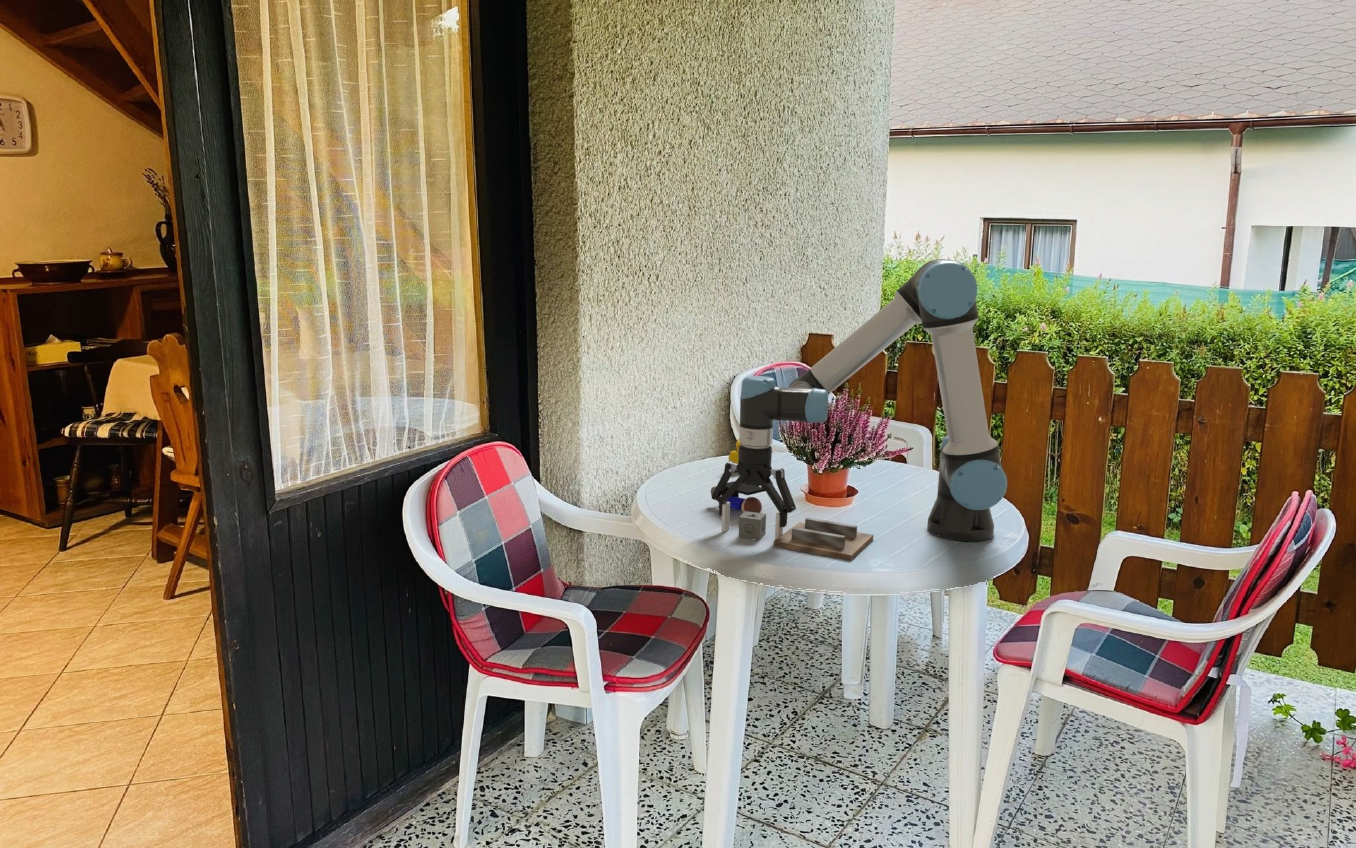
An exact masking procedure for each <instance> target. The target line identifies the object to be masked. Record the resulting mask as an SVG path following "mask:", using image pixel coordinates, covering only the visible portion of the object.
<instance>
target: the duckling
mask: <svg viewBox="0 0 1356 848" xmlns="http://www.w3.org/2000/svg"><path fill="white" fill-rule="evenodd" d="M740 445H741V443H740V442H739V438H738V439H737V440H736V443H735V448H736V450H732V451H730V453H729V454H728V462H730V461H733V462H734V463H735V464H738V462H739V460H738V453H739V446H740ZM735 471H737V470H736V469H735Z"/></svg>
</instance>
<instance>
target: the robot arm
mask: <svg viewBox="0 0 1356 848" xmlns="http://www.w3.org/2000/svg"><path fill="white" fill-rule="evenodd" d="M977 282H978V281H977V280H976V276H975V275H974V274H973V272H972V271H971V269H970V268H969V267H968V266H966V265H965V264H963V263H962V262H959V261H957V260H953V259H948V258H947V259H945V258H937V259H932V260H930V261H927V262H925V263H924V264H923V265H922V266H921V267H919V268H918V269H917V270H916V272H915V273H914V274H913V275H912V276H911V277H910V278H909V279H908V280H907V281H906V282H905V283H903V284H902V285H901V286H900V287H899V288H898V289H897V290H895V291H894V292H895V293H894V298H893V299H891V300H890V301H889V302H888V303H887V304H886V305H885V306H883V307H882V308H881V309H880V310H878V311H877V312H876V313H875V314H874V315H873V316H871V317H870V318H869V319H868V320H866V321H865V322H864V323H862V324H861V326H859V327H858V328H857V329H856V330H855V331H854V332H852V333H851V334H850V335H848V336H847V337H846V338H844V340H843V341H840V343H839V344H838V345H836V346H835V347H834V348H833V349H832V350H831V351H830V352H828V353H827V354H825V356H824V357H822V358H821V359H820V360H819V361H817V362H816V363H815V364H813V366H811V367H810V368H809V369H808V370H807V371H806V372H805V373H803V374H802V375H801V376H799V377H797V378H795V379H793V381H792V382H790V383H789V385H788V386H787V387H785V386H784V387H782V386H776V380H775V378H773V377H771V376H765V375H749V376H746V377H744V378H743V380H742V381H741V390H740V398H739V400H740V401H739V402H740V403H739V430H738V431H739V434H738V435H739V436H738V439H739V442H740V443H741V445H740V446H739V452H738V460H739V462H738V464H735V463H734V462H733V461H730V462H729V461H728V462H726V463H725V464H724V469H723V473H722V475H721V477H720V478H719V481H718V483H717V485H716V486H717V487H716V489H715V490H714V492H713V494H712V496H711V499H712V500H714V501H717V502H718V516H719V517H721V530H720V531H721V532H723V533H726V531H728V530H730V523H731V522H730V521H731V519H730V516H731V508H730V502H726V501H727V500H728V499H729V498H730V497H731V496H732V494H733V493H734V492H735V491H736V490H737V489H738V488H739V487H740V486H741V485H742V484H743V483H746V485H754V486H759V487H762V488H763V489H764V490H765V491H764V492H765V493H766V494H767V495H768V498H769V500H771V502H772V503H773V505H774V507H775V508H776V509H777V511H778V512H776V514H775V531H774V532H775V533H774V540H776V539H777V538H778V537H780V536H781V535H783V534H784V532H783V531H784V528H786V527H787V524H788V513H792V512H794V511H795V510H797V509H796V508H797V507H796V503H795V501H794V498H793V496H792V494H791V491H790V488H789V486H788V483H787V481H786V476H785V469H784V468H780V469H775V468H772V460H773V459H772V455H773V447H772V446H771V445H772V444H773V434H774V433H773V431H774V421H783V422H784V421H785V422H797V423H798V422H801V423H802V422H803V423H809V424H813V423H825V422H826V421H827V419H828V413H829V412H828V410H829V409H828V408H829V395H830V394H831V393H832V392H833V391H835V390H836V389H838V387H840V386H841V385H842V384H844V383H845V382H846V381H847V380H848V379H850V378H851V377H852V376H853V375H854V374H856V373H857V372H858V371H859V370H860V369H862V368H863V367H865V365H867V364H868V363H870V362H871V361H872V360H873V359H874V358H875V357H877V356H878V355H879V354H880V353H882V352H883V351H884V350H885V349H886V348H888V347H889V346H891V344H893V343H894V342H895V341H897V340H898V339H899V338H900V337H901V336H903V335H904V334H905V333H906V332H908V331H909V330H910V329H911V328H913V327H914V326H915V325H917V324H920V325H922V326H921V327H922V330H924V331H925V332H927V333H928V334H930V337H931V341H932V347H933V354H934V361H935V367H936V371H937V372H936V373H937V379H938V386H939V391H940V392H939V393H940V396H941V397H940V398H941V403H942V409H943V415H944V420H945V428H946V434H947V435H946V436H944V437H943V438H942V439H941V444H940V445H941V446H940V448H939V451H940V456H939V457H940V458H939V470H938V472H939V473H938V482H937V495H936V499H935V502H934V504H933V506H932V508H931V511H930V513H929V515H928V517H927V525H926V529H927V531H929V532H930V533H931V534H933V535H935V536H937V537H941V538H945V539H949V540H953V541H962V542H963V541H964V542H979V541H986V540H990V539H992V538H993V536H994V533H995V523H994V520H993V516H992V513H991V512H992V511H991V508H992V507H995V506H996V505H997V504H999V502H1000V501H1001V500H1002V499H1003V498H1004V497H1005V495H1006V492H1007V488H1008V478H1007V474H1006V473H1005V472H1006V471H1004V469H1003V468H1002V467H1003V466H1002V461H1001V455H1000V448H999V443H998V440H996V439H994V438H993V437H992V436H991V435H990V433H989V427H988V426H989V425H988V419H987V413H986V407H985V406H986V405H985V400H984V394H983V393H984V392H983V387H982V380H981V375H980V374H981V373H980V369H979V368H980V367H979V361H978V354H977V349H976V341H975V336H974V335H975V334H974V326H975V325H976V324H977V321H979V319H980V318H979V314H978V313H979V312H978V306H977V305H978V304H977V295H978V283H977ZM735 469H736V470H737V473H738V476H739V477H737V479H735V480H734V481H735V482H734V483H733V485H732V486H731V487H730V488H729V489H728V490H727V491H726V492H725V493H724V494H723V495H721V494H722V492H723V490H724V488H725V486H726V484H727V483H728V482H730V481H729V480H730V478H731V477H732V475H733V473H734V472H735V471H736V470H735ZM771 476H773V479H775V482H776V486H777V487H778V490H777V489H776V488H775V486H774V483H773V480H771V478H770V477H771ZM778 491H779V492H778Z"/></svg>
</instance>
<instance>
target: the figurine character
mask: <svg viewBox="0 0 1356 848" xmlns="http://www.w3.org/2000/svg"><path fill="white" fill-rule="evenodd" d="M735 481H736V480H733V481H728V482H727V484H726V486H725V488H724V490H723V492H722V494H721V495H723V494H724V493H725V492H726V491H727V490H728V489H729V488H730V487H731V486H732V485H733V483H734V482H735ZM716 487H717V485H716V486H712V487H711V489H710V496H711V497H712V494H713V492H714V490H715V489H716ZM763 492H766V491H765V490H764V489H763V488H762V487H761V486H754V485H746V483H743V484H742V485H741V486H740V487H739V488H738V489H737V490H736V491H735V492H734V493H733V494H732V496H731V497H730V498H729V499H728V500H727V501H726V502H730V510H731V509H733V510H736V511H741V512H742V514H743V513H744V512H745V511H748V512H756V513H762V510H763V504H762V501H761V500H760V499H759V498H758V497H755V496H751V495H755V494H759V493H763ZM740 494H741V495H745V496H749V497H746V498H742V497H740V496H739V495H740Z"/></svg>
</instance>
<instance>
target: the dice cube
mask: <svg viewBox="0 0 1356 848" xmlns="http://www.w3.org/2000/svg"><path fill="white" fill-rule="evenodd" d="M766 528H767V513H763V512H760V513H756V512H748V511H745V512H744V513H743V512H742V514H741V515H740V516H739V517H738V538H739V539H744V538H745V540H751V539H755V540H754V541H759V540H760V539H761V540H762V539H763V538H764V537H765V535H766V532H767V531H766ZM761 540H760V541H761Z"/></svg>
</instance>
